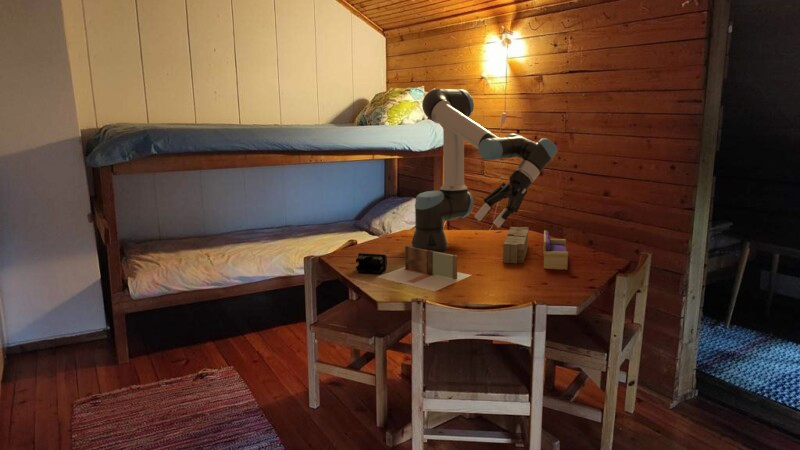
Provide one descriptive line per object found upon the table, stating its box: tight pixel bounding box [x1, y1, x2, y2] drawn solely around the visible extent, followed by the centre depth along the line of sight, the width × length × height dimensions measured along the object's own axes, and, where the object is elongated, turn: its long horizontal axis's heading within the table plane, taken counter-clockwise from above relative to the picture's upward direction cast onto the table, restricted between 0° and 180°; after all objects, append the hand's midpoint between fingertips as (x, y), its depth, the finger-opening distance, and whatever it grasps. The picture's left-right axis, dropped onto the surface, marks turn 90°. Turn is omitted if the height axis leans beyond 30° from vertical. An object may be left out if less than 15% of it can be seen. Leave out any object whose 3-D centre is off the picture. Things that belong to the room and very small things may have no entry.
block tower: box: [502, 226, 530, 264], centre depth 226 cm, size 8×8×29 cm
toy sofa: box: [542, 230, 569, 271], centre depth 213 cm, size 21×9×10 cm, turn 166°
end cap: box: [355, 252, 388, 276], centre depth 203 cm, size 10×7×7 cm
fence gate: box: [433, 251, 458, 279], centre depth 194 cm, size 10×2×8 cm, turn 50°
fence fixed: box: [404, 245, 433, 275], centre depth 201 cm, size 12×2×8 cm, turn 50°
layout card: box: [377, 266, 472, 292], centre depth 197 cm, size 25×22×1 cm
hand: (485, 222), depth 198 cm, fingers open, 13 cm apart
